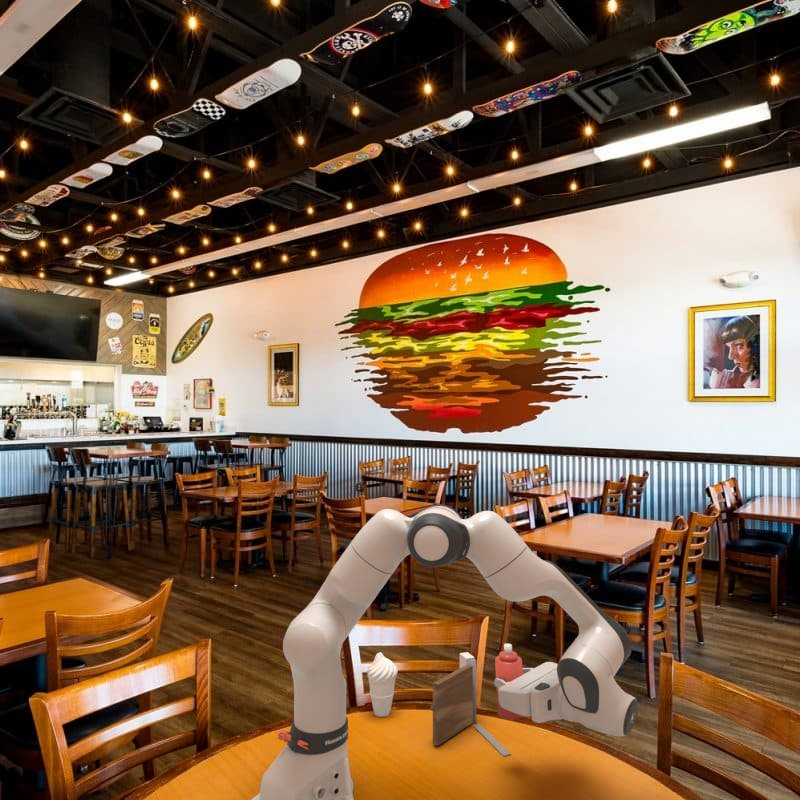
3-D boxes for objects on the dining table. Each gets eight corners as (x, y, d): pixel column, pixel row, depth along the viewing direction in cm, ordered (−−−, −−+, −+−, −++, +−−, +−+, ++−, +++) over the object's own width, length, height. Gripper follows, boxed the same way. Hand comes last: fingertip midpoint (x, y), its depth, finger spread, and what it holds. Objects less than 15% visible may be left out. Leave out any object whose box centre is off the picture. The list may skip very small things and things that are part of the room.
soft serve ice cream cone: (403, 711, 164) (403, 651, 165) (386, 724, 157) (386, 661, 158) (377, 703, 169) (377, 645, 169) (360, 715, 162) (360, 654, 162)
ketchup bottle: (525, 719, 134) (522, 649, 135) (498, 719, 135) (495, 649, 135) (522, 706, 140) (519, 640, 141) (496, 706, 141) (493, 640, 141)
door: (427, 741, 147) (427, 681, 148) (462, 718, 159) (462, 662, 159) (437, 745, 145) (437, 684, 146) (472, 722, 157) (472, 665, 157)
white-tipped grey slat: (502, 756, 142) (502, 687, 142) (459, 713, 163) (459, 653, 163) (511, 754, 142) (511, 685, 143) (467, 712, 163) (467, 652, 164)
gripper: (583, 663, 136) (531, 648, 146) (532, 694, 122) (478, 675, 131) (585, 692, 136) (532, 675, 146) (533, 726, 121) (479, 705, 131)
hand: (506, 675), depth 138 cm, fingers closed on ketchup bottle, 6 cm apart
